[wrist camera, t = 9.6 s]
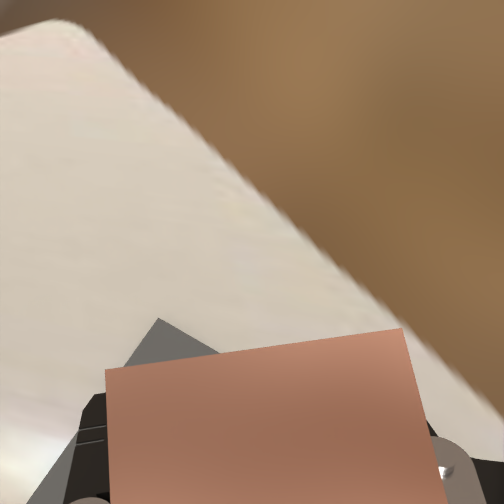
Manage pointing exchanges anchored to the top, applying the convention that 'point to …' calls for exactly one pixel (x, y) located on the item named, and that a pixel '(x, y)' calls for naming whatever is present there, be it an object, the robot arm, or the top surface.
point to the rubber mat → (149, 351)
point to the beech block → (274, 427)
